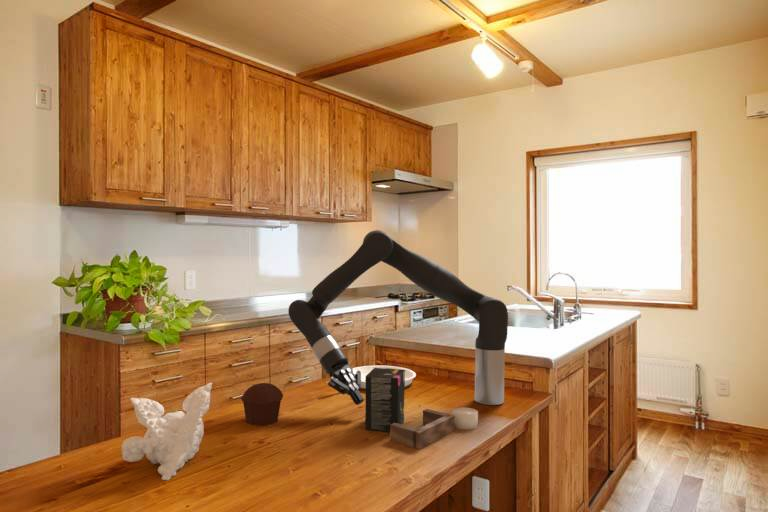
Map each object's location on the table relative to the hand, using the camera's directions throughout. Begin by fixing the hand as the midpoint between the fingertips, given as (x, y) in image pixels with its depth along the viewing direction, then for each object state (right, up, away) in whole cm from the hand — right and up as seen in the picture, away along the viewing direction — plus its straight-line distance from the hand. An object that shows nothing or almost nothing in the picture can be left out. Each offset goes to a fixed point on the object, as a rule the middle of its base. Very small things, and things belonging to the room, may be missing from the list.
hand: (360, 402), depth 149 cm
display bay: (+17, -5, -13) cm, 22 cm away
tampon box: (+7, -5, -6) cm, 10 cm away
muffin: (-27, -4, -3) cm, 28 cm away
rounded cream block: (+29, -5, -5) cm, 30 cm away
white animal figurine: (-41, -4, -33) cm, 53 cm away
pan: (+1, -4, +36) cm, 36 cm away
